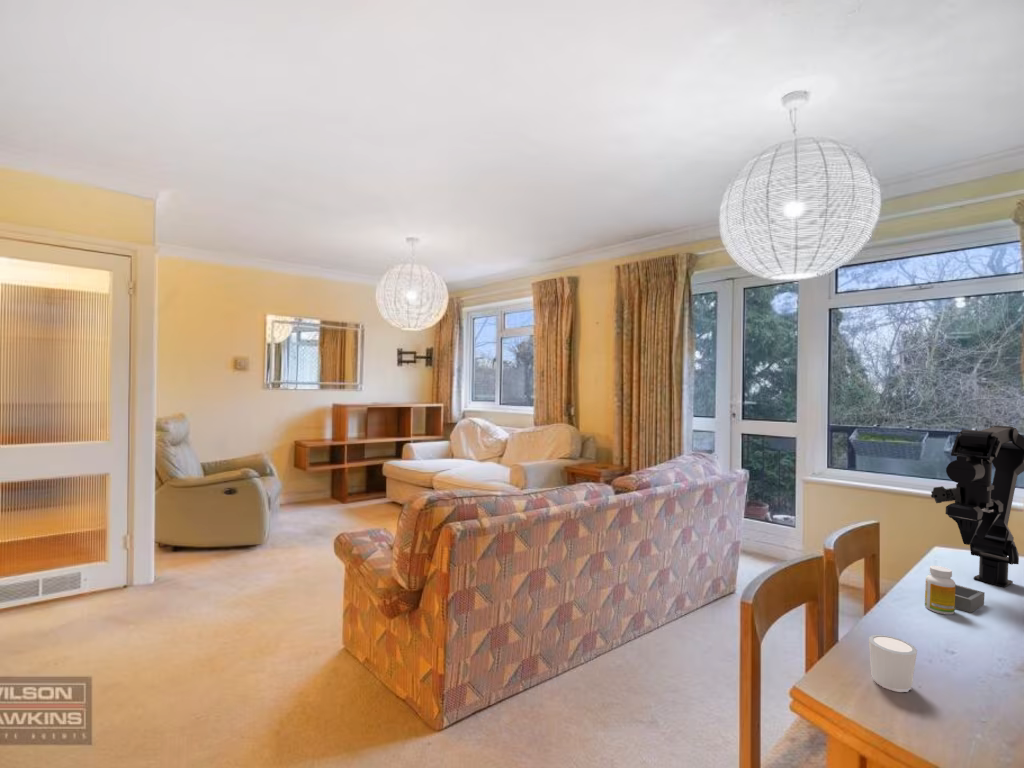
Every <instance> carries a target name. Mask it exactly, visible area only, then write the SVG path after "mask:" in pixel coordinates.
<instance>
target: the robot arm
mask: <svg viewBox="0 0 1024 768" xmlns="http://www.w3.org/2000/svg"><path fill="white" fill-rule="evenodd" d="M950 456H951V457H956V460H952V461H951V462H949V463H948V465H947V466H946V468H945V471H946V472H945V473H946V475H947V477H948V478H949V479H950V480H951V481H952V482H954V483H956V485H955V487H950V488H945V487H944V486H942V485H941V486H935V487H933V490H932V491H931V495H930V497H931V498H932V499H934V501H935V503H936V504H940V503H945V502H952V501H953V502H952V503H949V504H947V505H946V506H945V515H947V516H948V517H949V518H950V519H952V520H953V521H955V522H956V524H957V528H958V529H959V533H960V536H961V539H962V542H963V544H964V545H966V546H967V545H968V546H969V548H970V556H975V557H979V559H978V560H979V562H978V564H979V565H978V566H979V567H978V574H977V575H975V576H973V580H976V581H979V582H984V583H988V584H991V585H995V586H999V587H1003V588H1007V587H1009V586H1010V585H1012V584H1014V583H1013V582H1014V581H1013V580H1011V579H1009V565H1011V566H1012V565H1019V564H1020V561H1019V560H1020V557H1019V556H1020V555H1019V554H1020V553H1019V551H1018V548H1017V545H1016V543H1015V541H1014V540H1015V539H1014V535H1013V533H1012V532H1011V530H1010V529H1009V521H1010V515H1011V510H1012V505H1013V500H1014V495H1015V491H1016V490H1015V489H1016V485H1017V482H1018V481H1017V480H1018V476H1020V475H1021V474H1022V473H1024V436H1023V435H1022V434H1020V433H1019V431H1018V429H1017V427H1013V426H1005V425H991V426H990V427H987V428H985V429H982V430H977V429H976V430H975V429H963V428H962V430H961V431H960V432H959V433H957V434H956V437H955V440H954V443H953V446H952V449H951V452H950ZM993 467H994V470H995V471H994V474H993V480H992V471H993ZM1011 583H1012V584H1011ZM1006 586H1007V587H1006Z"/></svg>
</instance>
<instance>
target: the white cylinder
mask: <svg viewBox="0 0 1024 768" xmlns="http://www.w3.org/2000/svg"><path fill="white" fill-rule="evenodd" d="M868 646H869V647H868V649H869V663H870V672H871V673H870V674H871V675H872V677H873V679H875V680H876V681H877V682H879V683H881V684H883V685H884V686H888V687H890V688H896V689H908V688H911V686H912V687H913V678H914V672H915V666H916V660H917V656H918V655H917V654H918V650H917V647H915V645H912V644H911V643H910V642H907V641H906V640H903V639H901V638H897V637H895V636H890V635H884V634H873V635H870V636H869V637H868ZM872 677H871V678H872ZM911 689H912V688H911Z"/></svg>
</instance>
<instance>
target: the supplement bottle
mask: <svg viewBox="0 0 1024 768" xmlns="http://www.w3.org/2000/svg"><path fill="white" fill-rule="evenodd" d="M929 573H930V574H928V575H927V576H926V577H925V585H924V586H925V587H924V588H925V590H924V591H925V592H924V606H925V609H927V610H930V611H932V612H934V613H938V614H941V615H954V614H955V611H956V610H955V609H956V608H955V584H956V582H955V580H954V579H953V578H952V577H953V570H952V569H950V568H949V567H945V566H940V565H930V566H929Z"/></svg>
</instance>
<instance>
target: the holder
mask: <svg viewBox="0 0 1024 768" xmlns="http://www.w3.org/2000/svg"><path fill="white" fill-rule="evenodd" d="M983 606H985V592H984V591H981V590H977V589H973V588H970V587H967V586H963V585H960V584H956V583H955V609H957V610H959V611H963V612H966V613H969V614H970V613H973V612H974V611H976V610H978V609H979V608H982V607H983Z"/></svg>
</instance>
